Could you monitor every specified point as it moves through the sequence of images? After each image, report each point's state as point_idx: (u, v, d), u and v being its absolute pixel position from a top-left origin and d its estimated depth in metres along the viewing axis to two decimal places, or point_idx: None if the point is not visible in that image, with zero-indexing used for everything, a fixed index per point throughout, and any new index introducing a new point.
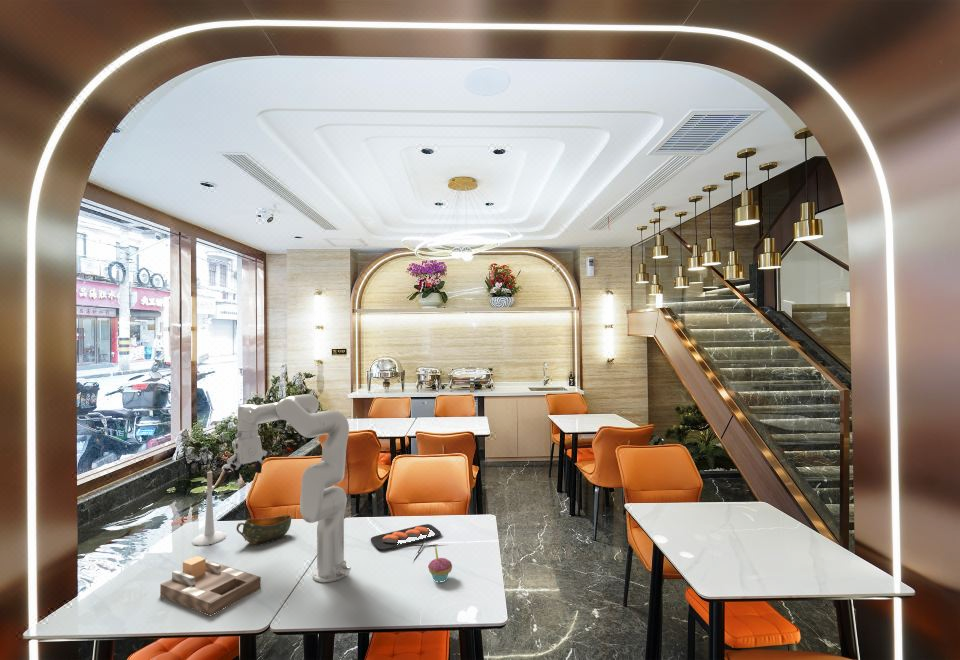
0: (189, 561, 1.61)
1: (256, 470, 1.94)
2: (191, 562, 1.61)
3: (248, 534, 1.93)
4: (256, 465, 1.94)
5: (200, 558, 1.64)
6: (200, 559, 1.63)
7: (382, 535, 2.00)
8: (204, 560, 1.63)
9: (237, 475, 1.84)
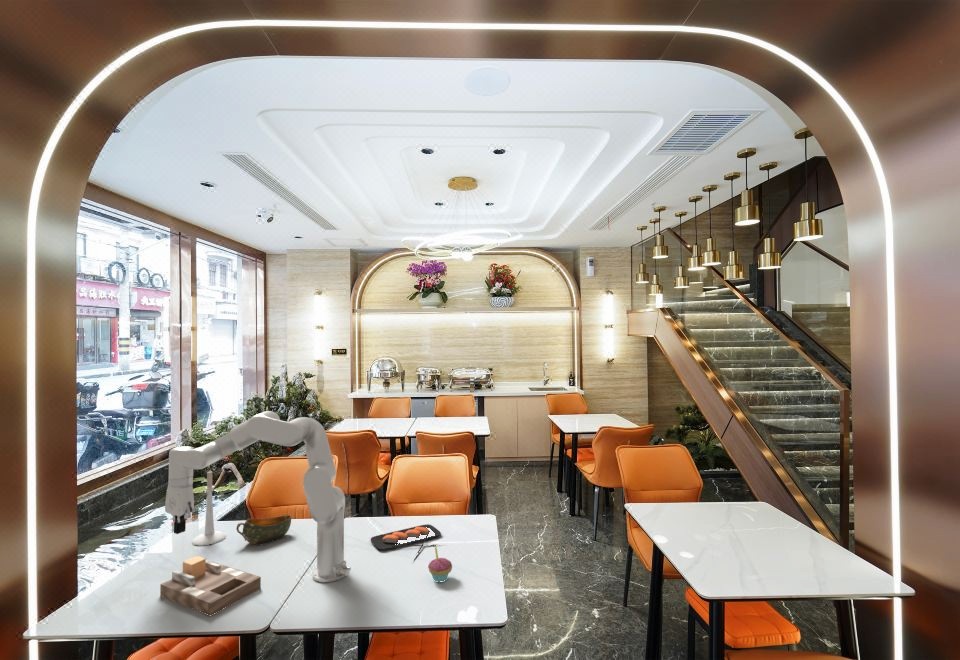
0: (189, 561, 1.61)
1: None
2: (191, 562, 1.61)
3: (248, 534, 1.93)
4: None
5: (200, 558, 1.64)
6: (200, 559, 1.63)
7: (382, 535, 2.00)
8: (204, 560, 1.63)
9: None
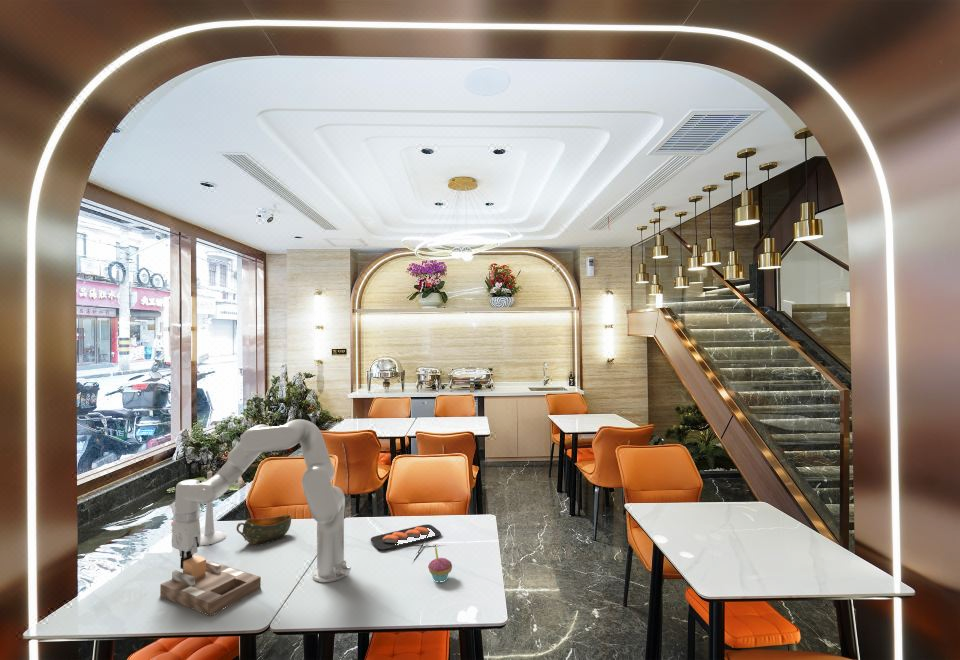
0: (190, 561, 1.61)
1: None
2: (192, 562, 1.60)
3: (248, 534, 1.93)
4: None
5: (201, 558, 1.63)
6: (201, 559, 1.62)
7: (382, 535, 2.00)
8: (205, 561, 1.63)
9: None
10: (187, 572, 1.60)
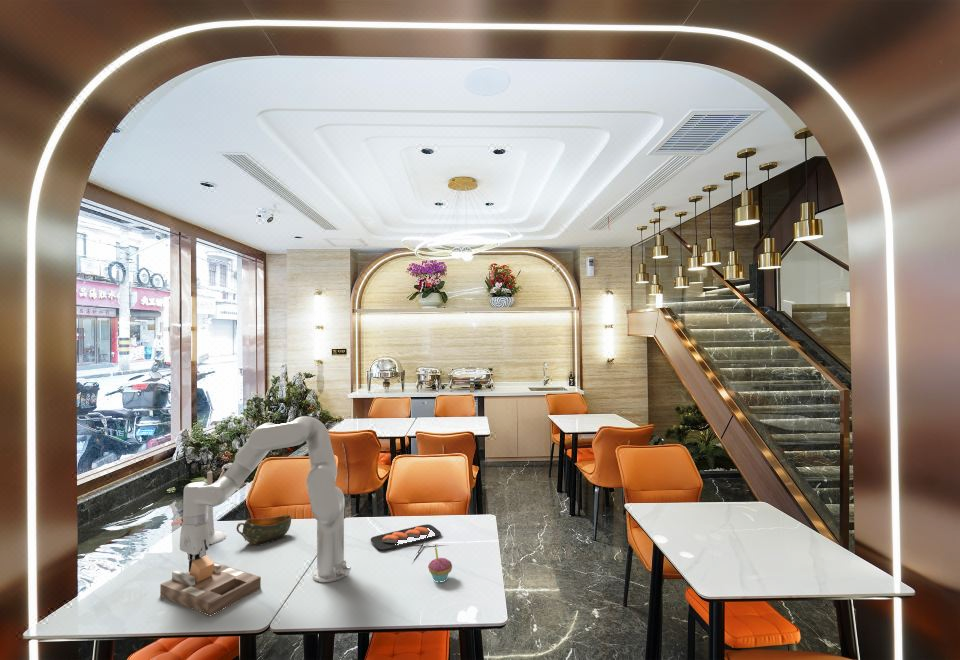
0: (199, 562, 1.59)
1: None
2: (200, 564, 1.58)
3: (248, 534, 1.93)
4: None
5: (209, 561, 1.61)
6: (209, 563, 1.60)
7: (382, 535, 2.00)
8: (213, 565, 1.60)
9: None
10: (194, 573, 1.58)
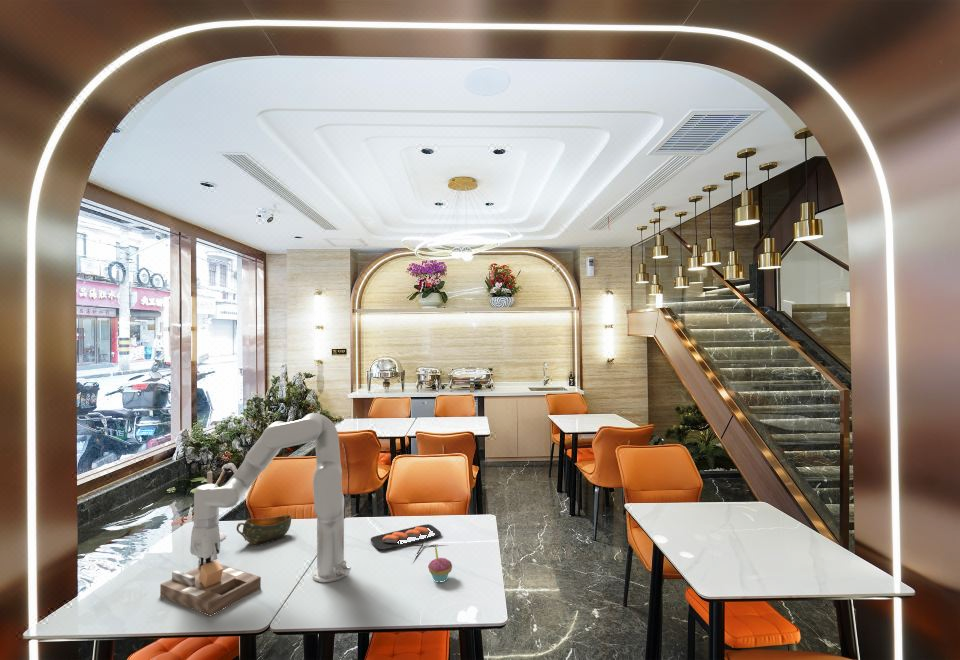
0: (207, 567, 1.55)
1: None
2: (208, 569, 1.55)
3: (248, 534, 1.93)
4: None
5: (218, 566, 1.57)
6: (218, 568, 1.56)
7: (382, 535, 2.00)
8: (221, 570, 1.56)
9: None
10: (202, 578, 1.54)
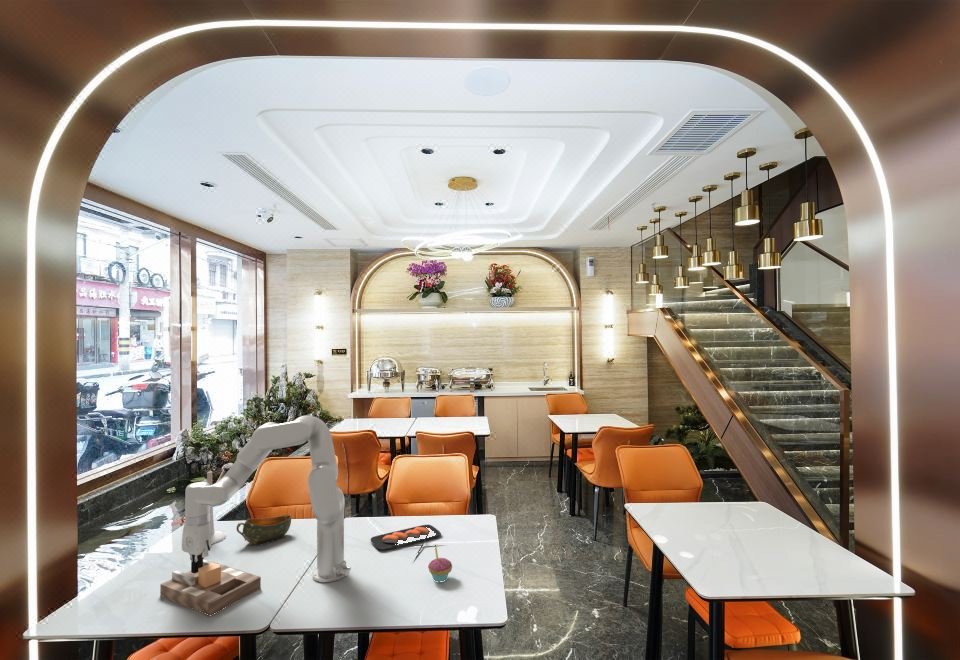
0: (205, 568, 1.56)
1: None
2: (206, 569, 1.56)
3: (248, 534, 1.93)
4: None
5: (216, 565, 1.58)
6: (215, 567, 1.57)
7: (382, 535, 2.00)
8: (219, 568, 1.57)
9: None
10: (201, 580, 1.55)
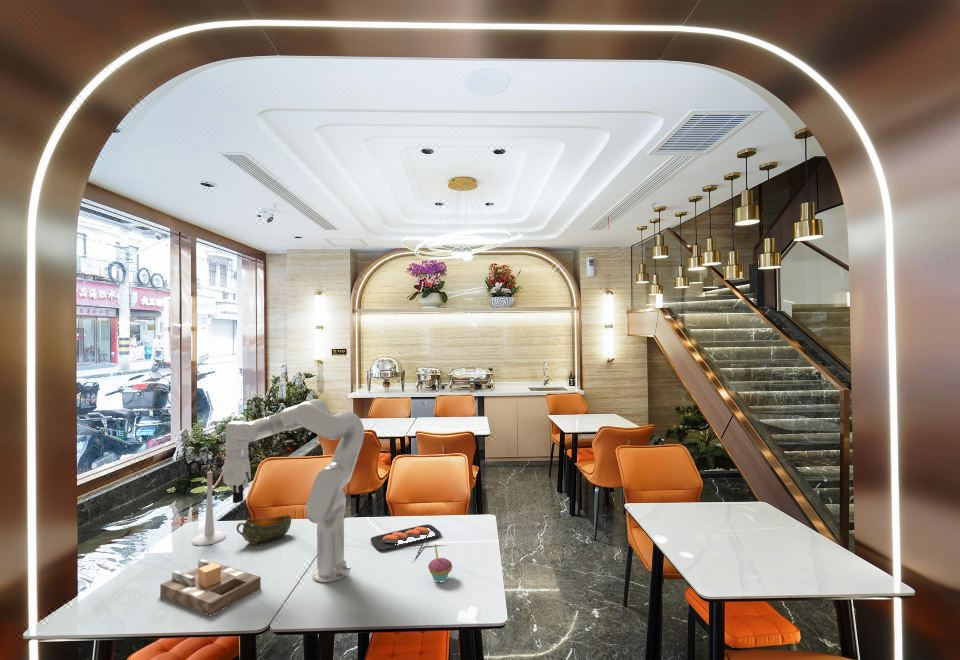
0: (205, 568, 1.56)
1: None
2: (206, 569, 1.56)
3: (248, 534, 1.93)
4: None
5: (216, 565, 1.58)
6: (215, 567, 1.57)
7: (382, 535, 2.00)
8: (219, 568, 1.57)
9: None
10: (201, 580, 1.55)
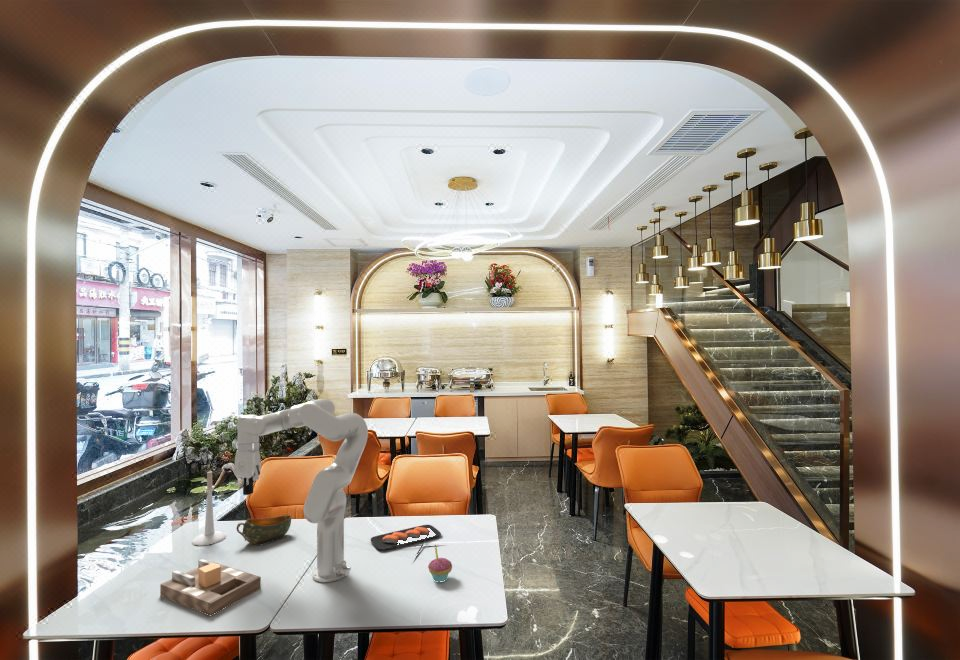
0: (205, 568, 1.56)
1: None
2: (206, 569, 1.56)
3: (248, 534, 1.93)
4: None
5: (216, 565, 1.58)
6: (215, 567, 1.57)
7: (382, 535, 2.00)
8: (219, 568, 1.57)
9: None
10: (201, 580, 1.55)
